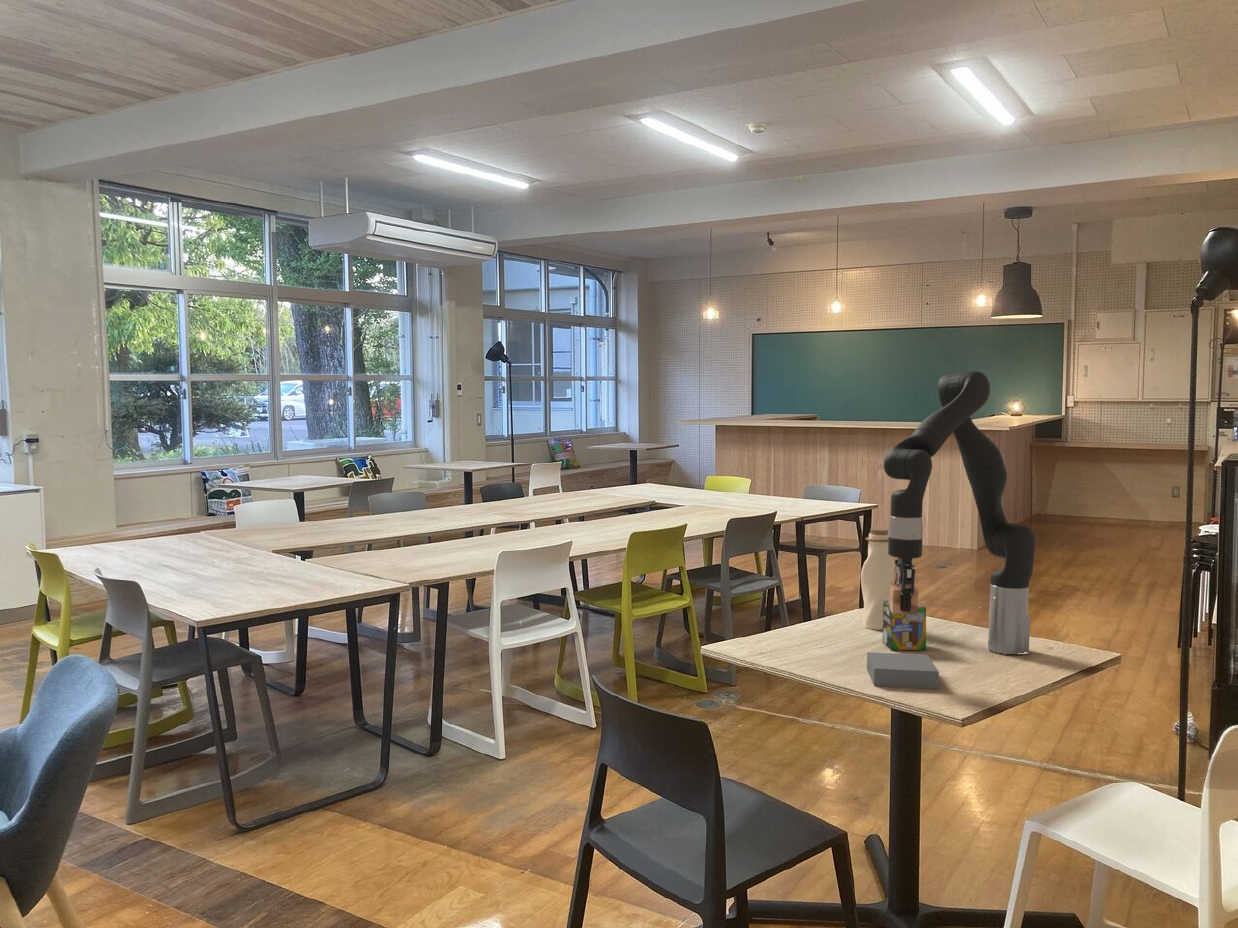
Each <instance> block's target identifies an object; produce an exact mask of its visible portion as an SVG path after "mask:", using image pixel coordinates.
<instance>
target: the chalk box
mask: <svg viewBox="0 0 1238 928" xmlns="http://www.w3.org/2000/svg"><path fill="white" fill-rule="evenodd" d="M889 604H890V601H884V602H883V630H882V643H883V644H884V645H885V646H886V647H887V648H889V650H890V651H927V607H926V606H925V605H923V604H921V603H920V602H918V615H912V614H893V613H892V612H891V610H890V609H889Z"/></svg>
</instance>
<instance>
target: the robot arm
mask: <svg viewBox="0 0 1238 928" xmlns="http://www.w3.org/2000/svg"><path fill="white" fill-rule="evenodd" d="M990 393H991V386H990V382H989V379H988V377H987V375H985V373H983V372H982V371H978V370H971V371H961V372H955V373H951V374H950V373H949V374H945V375H942V376H941V377H940V378H939V381H938V383H937V394H938V399H939V403H940V405H941V408H939V409H938V410H936V411H934V412H933V413H931V414H930V415H928V416H927V417H926V418H925V419H923V420H922V421H921V422H920V423H919V425H918V426H917V427H916V428H915V430H914V431H913V432H912V434H911V435H909V436H908V437H906V438H904V439H903V440H901V441H900V442H899V443H897V444H895V445H894V446H892V448H891V449H890V450H889V451H888V452H887V453H886V455H885V457H884V460H883V470H884V472H885V474H886V475H887V476H888V477H889V478H892V479H895V480H906V481H907V480H908V481H909V484H908V485H907V487H906V488H904V489H898V490H894V491H892V493H891V494H890V495H891V496H890V517H889V523H888V534H889V540H888V554H889V555H890V556H892V557H894V558H897V559H895V560H894V581H893V582H894V585H895V586H900V594H901V602H900V610H901V611H903V612H909V611H910V610H911V595H912V594H913V593H914V586H915V576H916V568H915V567H916V566H915V565H914V564H913V559H919V558H922V556H923V543H924V542H923V541H924V539H923V538H924V536H923V535H924V525H923V500H924V496H925V492H926V489H927V486H928V482H929V479H930V477H931V473H932V469H933V460H932V457H934V456H935V455H936V454H937V453H938V451H939V450H940V449H941V447H942V446H943V445H944V444H945V442H946V441H947V440H948V438H950V436H951V435H952V434H953V436H954V439H955V440H956V441H955V442H956V445H957V446H958V449H959V453H960V456H961V460H962V464H963V467H964V470H965V473H966V476H967V479H968V482H969V485H970V487H971V491H972V493H973V498H974V502H975V505H976V508H977V511H978V517H979V521H980V526H981V531H982V536H983V541H984V544H985V547H986V549H987V551H988V552H989V553H990V554H991V555H992V556H995V557H998V558H1003V559H1005V561H1004V562H1005V564H1004V566H1003V569H1001V570H997V571H993V572H992V573H991V574H990V583H989V584H990V586H989V610H988V611H989V614H988V634H987V635H988V639H987V649H988V650H989V651H990V650H991V651H990V652H992V651H993V653H995V652H997V653H996V654H999V653H1003V654H1002V655H1006V654H1018V653H1024V652H1029V653H1030V635H1031V634H1030V633H1031V631H1030V629H1031V617H1030V616H1029V598H1030V597H1029V593H1030V580H1031V578H1032V575H1033V571H1034V570H1033V569H1034V561H1035V560H1034V559H1035V551H1036V538H1035V534H1034V532H1033V530H1032V529H1031V528H1030V527H1029V526H1027V525H1024V524H1019V523H1015V522H1014V523H1013V522H1008V521H1007V519H1006V516H1005V512H1004V511H1003V506H1002V500H1003V499H1002V498H1003V494H1004V491H1005V487H1006V484H1007V480H1008V477H1007V476H1008V474H1007V469H1006V466H1005V463H1004V460H1003V455H1002V454H1001V451H1000V450H999V448H998V446H997V445H996V444H995V443H994V442H993V441H992V440H991V439H990V438H989V437H988V436H986V434H984V432H983V431H982V430H980V429H979V427H978V426H976V425H975V422H974V421H973V420H972V418H971V416H972V415H974V414H975V413H976V412H978V411H979V409H981V408H982V407H983V406H984V405H985V404H986V403H987V402H988V400H989V397H990ZM905 586H909V589H905Z"/></svg>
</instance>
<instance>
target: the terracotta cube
mask: <svg viewBox="0 0 1238 928" xmlns="http://www.w3.org/2000/svg"><path fill="white" fill-rule="evenodd" d="M905 589H909V586H905ZM900 602H901V594H900V586H896V585H895V584H894V585H893V584H892V585H890V604H889V609H890V610H891V612H892V613H893V614H912V615H918V603H919V590H918V588H916V586H915V585H914V593H913V594H912V595H911V610H910V611H909V612H903V611H901V610H900Z"/></svg>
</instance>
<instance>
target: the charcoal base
mask: <svg viewBox="0 0 1238 928" xmlns="http://www.w3.org/2000/svg"><path fill="white" fill-rule="evenodd" d="M866 653H867V654H866V671H867V672H868V675H869V677H870V680H871V682H872V685H873V686H874V687H889V688H890V687H891V688H892V687H893V688H907V689H908V688H909V689H910V688H911V689H927V690H928V689H929V690H930V689H931V690H939V677H940V671H939V670H938V668H937V666H936V665H935V664H934V663H933V661H932V659H931V658H930V657H929V655H928V654H918V653H917V654H915V653H914V654H913V653H911V654H910V653H909V654H908V653H893V652H874V651H872V652H870V651H867V652H866Z"/></svg>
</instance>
